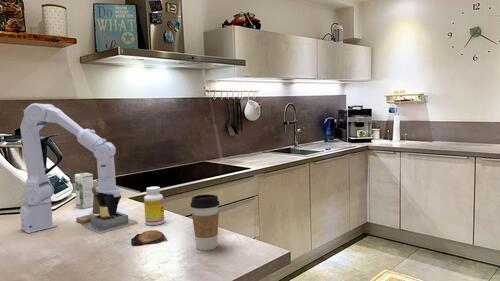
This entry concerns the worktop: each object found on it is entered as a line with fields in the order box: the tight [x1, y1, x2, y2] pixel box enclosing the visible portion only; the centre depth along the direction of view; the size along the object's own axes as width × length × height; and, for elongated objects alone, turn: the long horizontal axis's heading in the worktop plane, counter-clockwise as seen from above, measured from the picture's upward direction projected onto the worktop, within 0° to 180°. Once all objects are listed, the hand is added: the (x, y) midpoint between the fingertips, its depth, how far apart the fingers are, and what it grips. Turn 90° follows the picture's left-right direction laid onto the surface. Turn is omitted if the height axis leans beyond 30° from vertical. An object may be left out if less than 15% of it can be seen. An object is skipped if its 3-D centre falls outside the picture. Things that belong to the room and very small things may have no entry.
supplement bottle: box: [143, 186, 165, 226], centre depth 132 cm, size 7×7×13 cm
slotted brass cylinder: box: [99, 205, 115, 220], centre depth 132 cm, size 5×5×6 cm
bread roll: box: [130, 229, 169, 247], centre depth 114 cm, size 11×8×4 cm
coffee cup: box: [189, 193, 220, 251], centre depth 106 cm, size 8×8×15 cm
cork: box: [92, 184, 100, 215], centre depth 150 cm, size 6×6×11 cm
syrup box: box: [74, 172, 94, 210], centre depth 159 cm, size 6×6×14 cm
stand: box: [75, 213, 97, 225], centre depth 137 cm, size 6×6×2 cm
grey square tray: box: [81, 211, 139, 234], centre depth 132 cm, size 14×14×3 cm
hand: (109, 214), depth 132 cm, fingers closed on slotted brass cylinder, 5 cm apart
